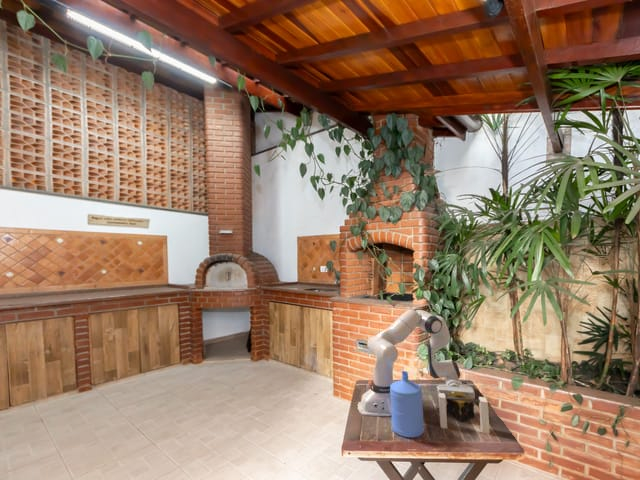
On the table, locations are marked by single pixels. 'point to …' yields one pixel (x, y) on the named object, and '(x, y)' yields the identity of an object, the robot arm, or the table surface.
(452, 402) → the candle
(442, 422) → the frame
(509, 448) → the table surface
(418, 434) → the water jug
